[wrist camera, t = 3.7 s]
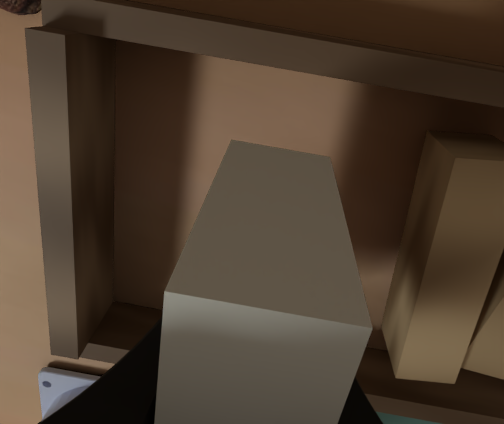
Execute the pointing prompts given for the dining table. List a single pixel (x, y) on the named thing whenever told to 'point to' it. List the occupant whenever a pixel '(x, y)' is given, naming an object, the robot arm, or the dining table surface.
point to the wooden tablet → (21, 6)
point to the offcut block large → (445, 255)
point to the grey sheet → (263, 298)
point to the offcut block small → (489, 331)
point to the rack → (102, 168)
